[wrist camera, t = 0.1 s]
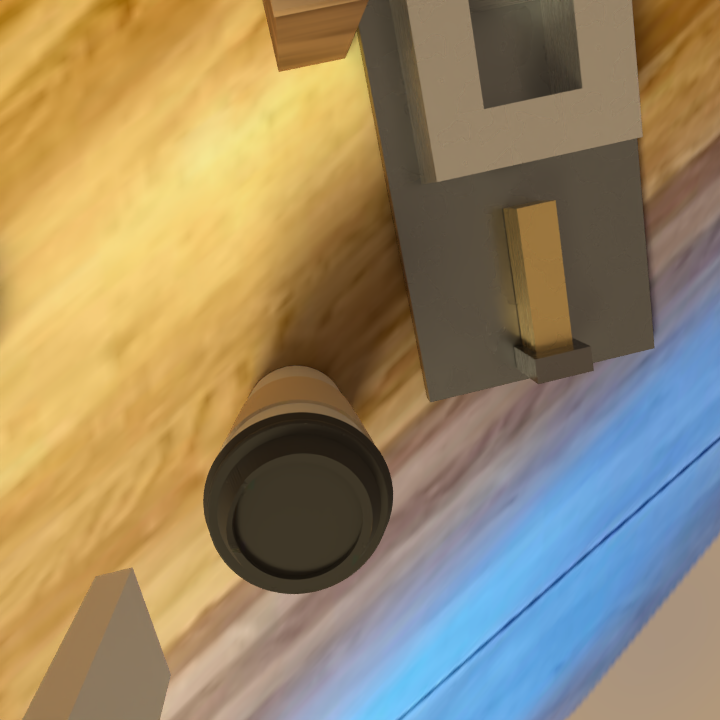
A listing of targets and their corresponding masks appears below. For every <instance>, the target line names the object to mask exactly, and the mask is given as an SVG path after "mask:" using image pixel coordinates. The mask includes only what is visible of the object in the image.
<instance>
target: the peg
mask: <svg viewBox="0 0 720 720" xmlns="http://www.w3.org/2000/svg"><path fill="white" fill-rule="evenodd" d="M368 1H369V0H263V4H264V8H265V13H266V17H267V22H268V26H269V30H270V35H271V39H272V44H273V48H274V53H275V57H276V61H277V66H278V70H279V72H280V71H285V70H290V69H295V68H300V67H305V66H310V65H314V64H319V63H324V62H329V61H334V60H339V59H344V58H345V57H346V54H347V52H348V49H349V47H350V45H351V42H352V40H353V37H354V35H355V32H356V30H357V27H358V25H359V23H360V20H361V18H362V15H363V13H364V10H365V8H366V5H367V3H368Z"/></svg>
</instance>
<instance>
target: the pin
mask: <svg viewBox="0 0 720 720" xmlns="http://www.w3.org/2000/svg"><path fill="white" fill-rule="evenodd" d="M503 213H504V220H505V227H506V234H507V240H508V247H509V254H510V261H511V268H512V275H513V282H514V289H515V296H516V303H517V310H518V317H519V324H520V331H521V338H522V345H518V346H514V352H515V358H516V365H517V369H518V370H519V371H521V372H522V373H523V374H525V375H526V376H528V377H529V378H530V379H532V380H533V381H535V382H536V383H537V384H541V383H545V382H549V381H553V380H557V379H561V378H566V377H570V376H574V375H578V374H582V373H586V372H590V371H594V369H593V361H592V352H591V346H589V345H587V344H585V343H583V342H581V341H579V340H576V339H574V338H572V333H571V325H570V317H569V308H568V300H567V292H566V283H565V275H564V267H563V258H562V250H561V242H560V233H559V225H558V217H557V208H556V200H539V201H534V202H530V203H525V204H521V205H517V206H512V207H508V208H503Z"/></svg>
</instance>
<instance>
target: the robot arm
mask: <svg viewBox="0 0 720 720" xmlns="http://www.w3.org/2000/svg"><path fill="white" fill-rule="evenodd" d="M170 676H171V674H170V671H169V668H168V666H167V663H166V660H165V657H164V654H163V652H162V649H161V646H160V643H159V640H158V638H157V635H156V632H155V629H154V626H153V624H152V621H151V618H150V615H149V612H148V610H147V607H146V604H145V601H144V599H143V596H142V593H141V590H140V587H139V585H138V582H137V579H136V576H135V573H134V571H133V568H128V569H124V570H120V571H116V572H112V573H108V574H104V575H100V576H96V577H95V579H94V581H93V583H92V585H91V586H90V588H89V590H88V592H87V594H86V596H85V598H84V600H83V602H82V604H81V606H80V608H79V610H78V612H77V614H76V616H75V618H74V620H73V622H72V624H71V626H70V628H69V630H68V631H67V633H66V635H65V637H64V639H63V641H62V643H61V645H60V647H59V649H58V651H57V653H56V655H55V657H54V659H53V661H52V663H51V665H50V667H49V669H48V671H47V673H46V674H45V676H44V678H43V680H42V682H41V684H40V686H39V688H38V690H37V692H36V694H35V696H34V698H33V700H32V702H31V704H30V706H29V708H28V710H27V712H26V714H25V716H24V717H23V719H22V720H160V716H161V712H162V708H163V704H164V700H165V696H166V692H167V688H168V684H169V680H170Z"/></svg>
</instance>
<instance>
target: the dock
mask: <svg viewBox="0 0 720 720" xmlns="http://www.w3.org/2000/svg"><path fill="white" fill-rule="evenodd" d="M357 35H358V40H359V45H360V50H361V55H362V61H363V66H364V71H365V76H366V82H367V87H368V92H369V97H370V102H371V108H372V113H373V118H374V123H375V129H376V134H377V139H378V144H379V149H380V155H381V160H382V165H383V170H384V176H385V181H386V186H387V191H388V197H389V202H390V207H391V212H392V217H393V223H394V228H395V233H396V238H397V244H398V249H399V254H400V259H401V264H402V270H403V275H404V280H405V285H406V291H407V296H408V301H409V306H410V312H411V317H412V322H413V327H414V332H415V338H416V343H417V348H418V353H419V359H420V364H421V369H422V374H423V379H424V385H425V390H426V395H427V398H428V400H429V401H430V402H434V401H438V400H442V399H446V398H450V397H454V396H458V395H463V394H467V393H471V392H475V391H479V390H483V389H487V388H491V387H496V386H500V385H504V384H508V383H512V382H516V381H520V380H525V379H529V377H528V376H526V375H525V374H523V373H522V372H521V371H519V370H518V369H517V365H516V358H515V352H514V346H518V345H522V338H521V331H520V324H519V317H518V310H517V303H516V296H515V289H514V282H513V275H512V268H511V261H510V254H509V247H508V240H507V234H506V227H505V220H504V213H503V208H508V207H512V206H517V205H521V204H525V203H530V202H534V201H539V200H556V208H557V217H558V225H559V233H560V242H561V250H562V258H563V267H564V275H565V283H566V292H567V300H568V308H569V317H570V325H571V333H572V338H574V339H576V340H579V341H581V342H583V343H585V344H587V345H589V346H591V352H592V361H593V363H595V362H599V361H603V360H607V359H611V358H616V357H620V356H624V355H628V354H632V353H636V352H640V351H644V350H649V349H653V348H654V337H653V325H652V313H651V301H650V289H649V276H648V264H647V252H646V240H645V228H644V216H643V204H642V192H641V179H640V167H639V155H638V143H637V138H640V137H643V135H642V122H641V110H640V97H639V85H638V72H637V60H636V47H635V35H634V22H633V10H632V0H369V1H368V3H367V5H366V8H365V10H364V13H363V15H362V18H361V20H360V23H359V25H358V27H357Z"/></svg>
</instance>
